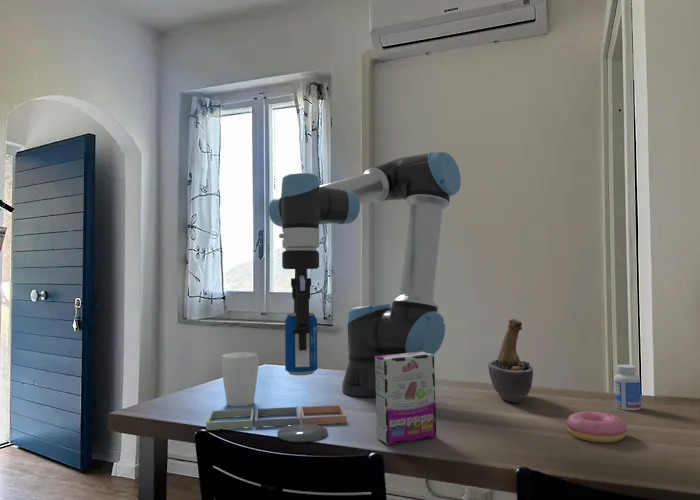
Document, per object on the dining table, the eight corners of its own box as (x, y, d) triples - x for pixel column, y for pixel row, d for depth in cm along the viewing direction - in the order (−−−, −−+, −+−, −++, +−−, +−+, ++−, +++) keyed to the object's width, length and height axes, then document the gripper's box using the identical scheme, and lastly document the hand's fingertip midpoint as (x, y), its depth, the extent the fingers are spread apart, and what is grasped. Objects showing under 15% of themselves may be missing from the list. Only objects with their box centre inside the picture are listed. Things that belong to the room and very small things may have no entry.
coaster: (324, 425, 119) (324, 423, 119) (329, 440, 109) (329, 437, 109) (277, 428, 117) (277, 425, 118) (277, 443, 108) (277, 440, 108)
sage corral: (253, 415, 127) (253, 408, 127) (252, 428, 118) (252, 420, 118) (211, 417, 126) (211, 410, 126) (206, 430, 117) (206, 422, 117)
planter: (524, 410, 129) (522, 323, 129) (465, 398, 142) (463, 319, 142) (556, 399, 139) (555, 319, 139) (498, 389, 151) (497, 314, 152)
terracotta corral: (341, 411, 130) (341, 404, 130) (346, 423, 121) (346, 415, 121) (300, 413, 129) (300, 406, 129) (302, 425, 119) (302, 417, 119)
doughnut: (640, 442, 106) (640, 420, 107) (592, 448, 103) (591, 425, 103) (599, 426, 117) (599, 406, 117) (554, 431, 114) (554, 410, 114)
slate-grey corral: (298, 413, 129) (297, 406, 129) (299, 425, 119) (299, 418, 119) (256, 415, 127) (256, 408, 128) (254, 427, 118) (254, 420, 118)
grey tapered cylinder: (250, 408, 134) (250, 358, 134) (215, 407, 136) (215, 357, 136) (264, 399, 143) (263, 352, 143) (230, 398, 144) (230, 351, 145)
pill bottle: (644, 407, 130) (643, 365, 131) (637, 412, 127) (636, 369, 127) (619, 403, 134) (618, 363, 134) (611, 408, 130) (610, 366, 130)
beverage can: (304, 377, 109) (304, 315, 109) (278, 374, 112) (278, 314, 113) (323, 371, 114) (323, 313, 115) (298, 369, 118) (297, 311, 118)
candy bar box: (424, 431, 114) (422, 350, 115) (437, 438, 110) (435, 354, 110) (374, 438, 110) (373, 354, 110) (386, 446, 105) (385, 358, 106)
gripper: (281, 251, 123) (282, 356, 123) (282, 248, 104) (283, 373, 103) (315, 250, 124) (316, 355, 124) (323, 248, 105) (324, 371, 104)
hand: (301, 363), depth 113 cm, fingers closed on beverage can, 6 cm apart
